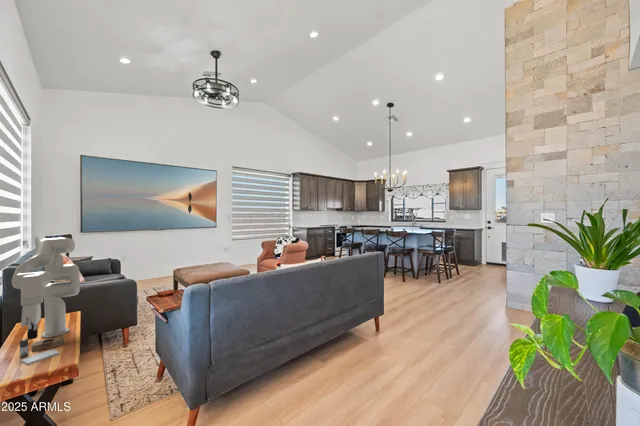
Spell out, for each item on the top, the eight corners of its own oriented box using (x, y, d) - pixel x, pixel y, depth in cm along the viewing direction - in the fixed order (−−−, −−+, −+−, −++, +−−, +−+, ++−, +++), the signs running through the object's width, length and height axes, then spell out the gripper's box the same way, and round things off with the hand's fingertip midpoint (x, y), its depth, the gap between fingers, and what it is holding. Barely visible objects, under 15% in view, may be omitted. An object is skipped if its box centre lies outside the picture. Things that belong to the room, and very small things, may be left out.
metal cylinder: (20, 355, 151) (20, 339, 151) (29, 353, 152) (29, 338, 152) (18, 357, 148) (18, 342, 148) (27, 355, 150) (27, 340, 150)
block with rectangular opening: (35, 346, 160) (35, 341, 160) (63, 341, 166) (63, 336, 166) (31, 351, 155) (31, 345, 155) (61, 345, 161) (61, 340, 161)
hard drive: (52, 348, 155) (20, 359, 144) (59, 351, 151) (27, 362, 140) (52, 351, 155) (20, 362, 144) (59, 355, 151) (27, 366, 140)
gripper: (26, 298, 142) (27, 334, 142) (15, 305, 129) (15, 346, 129) (47, 295, 146) (47, 331, 146) (38, 302, 133) (38, 342, 133)
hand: (32, 338), depth 138 cm, fingers closed
